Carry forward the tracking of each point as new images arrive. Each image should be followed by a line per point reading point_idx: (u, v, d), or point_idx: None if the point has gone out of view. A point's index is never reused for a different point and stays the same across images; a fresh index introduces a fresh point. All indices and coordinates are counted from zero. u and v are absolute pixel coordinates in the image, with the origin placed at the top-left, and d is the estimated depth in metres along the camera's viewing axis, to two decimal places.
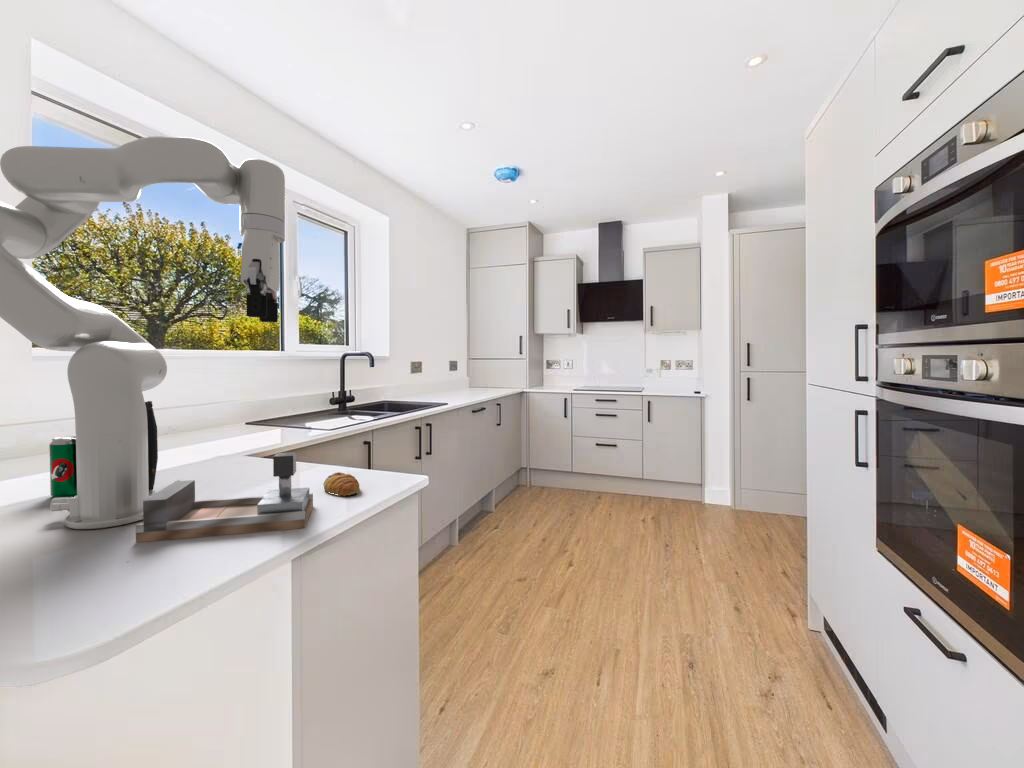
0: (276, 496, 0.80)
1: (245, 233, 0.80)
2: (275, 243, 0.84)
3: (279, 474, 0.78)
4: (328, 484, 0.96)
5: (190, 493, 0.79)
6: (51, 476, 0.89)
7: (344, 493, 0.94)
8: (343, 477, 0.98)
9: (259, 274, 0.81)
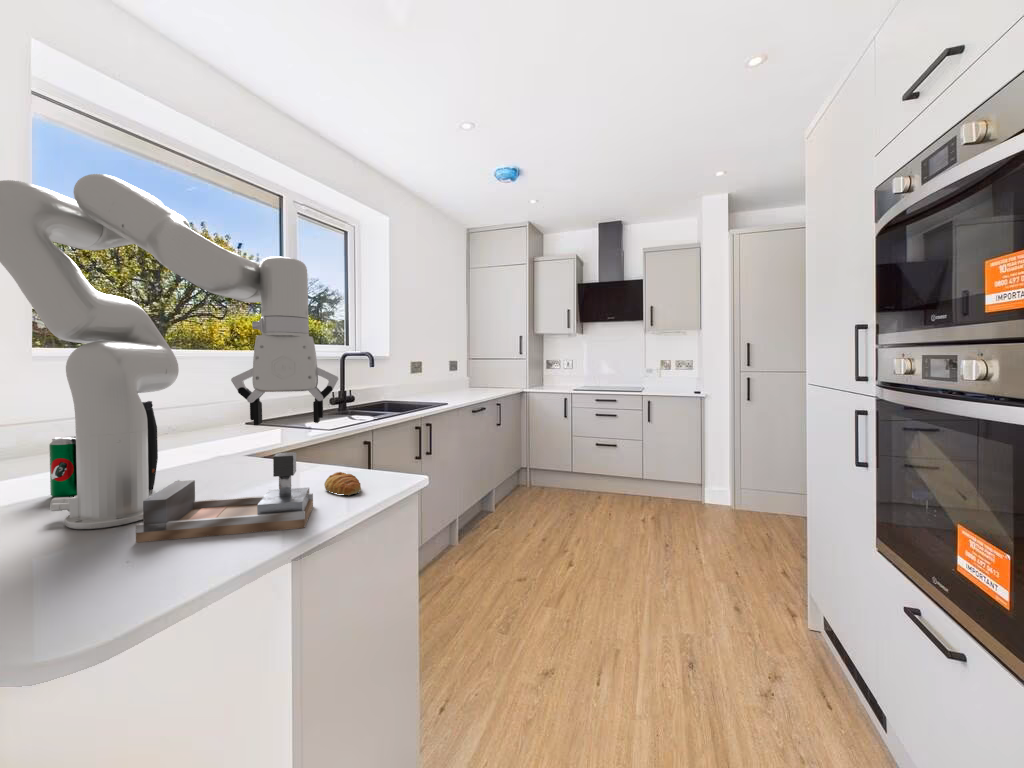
0: (276, 496, 0.80)
1: (310, 339, 0.79)
2: None
3: (279, 474, 0.78)
4: (329, 484, 0.97)
5: (190, 493, 0.79)
6: (51, 476, 0.89)
7: (345, 493, 0.94)
8: (344, 477, 0.98)
9: None
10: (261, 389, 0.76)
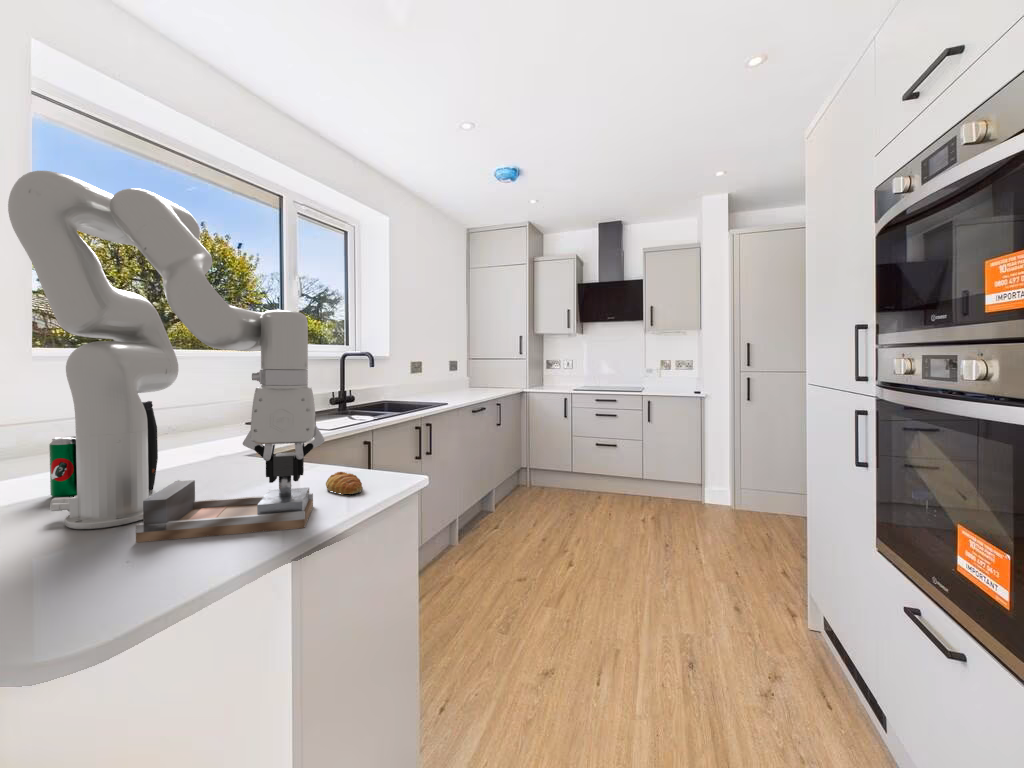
0: (276, 496, 0.80)
1: (309, 391, 0.79)
2: None
3: (279, 474, 0.78)
4: (330, 483, 0.97)
5: (190, 493, 0.79)
6: (51, 476, 0.89)
7: (347, 492, 0.95)
8: (346, 476, 0.98)
9: None
10: (259, 442, 0.76)
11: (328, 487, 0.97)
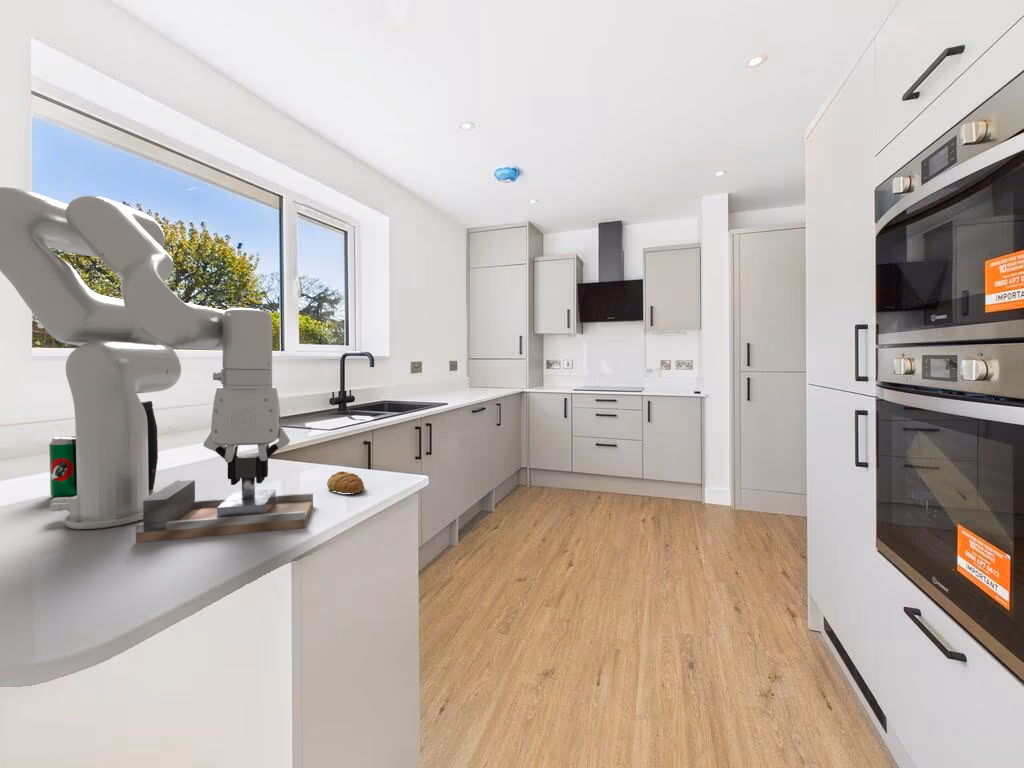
0: (239, 498, 0.78)
1: (272, 391, 0.77)
2: None
3: (242, 476, 0.77)
4: (332, 483, 0.97)
5: (190, 493, 0.79)
6: (51, 476, 0.89)
7: (349, 491, 0.95)
8: (347, 476, 0.99)
9: None
10: (220, 443, 0.74)
11: (330, 487, 0.97)
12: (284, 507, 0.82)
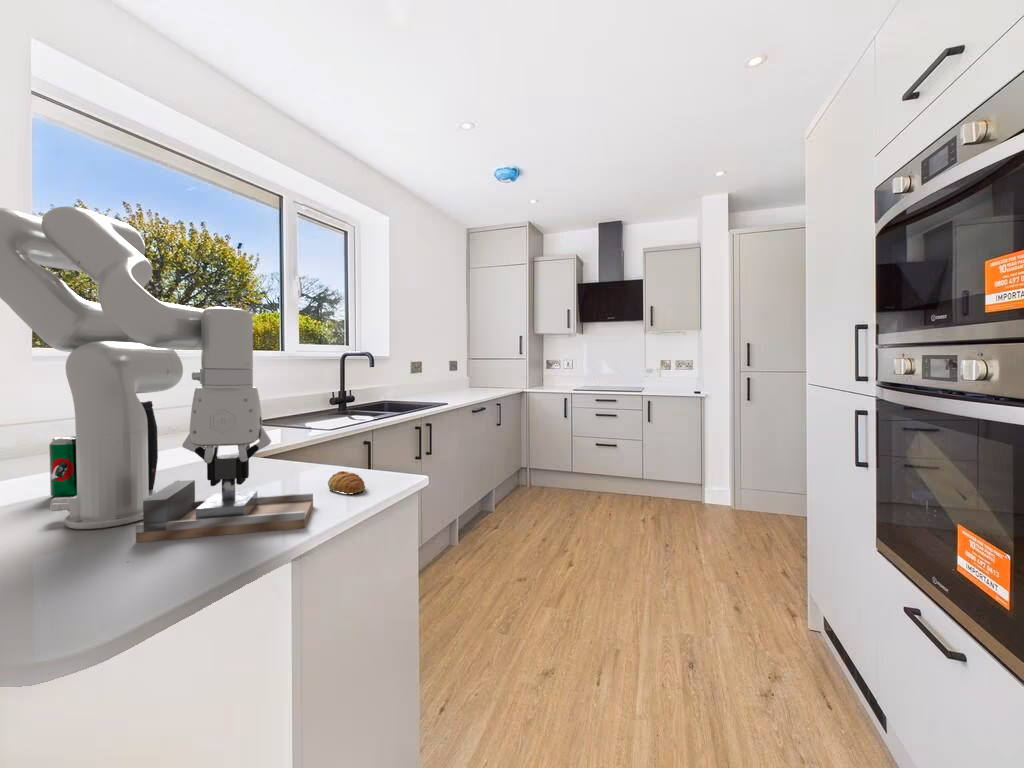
0: (219, 500, 0.77)
1: (252, 391, 0.76)
2: None
3: (221, 477, 0.76)
4: (333, 483, 0.97)
5: (190, 493, 0.79)
6: (51, 476, 0.89)
7: (350, 491, 0.95)
8: (348, 476, 0.99)
9: None
10: (198, 444, 0.73)
11: (330, 487, 0.98)
12: (284, 507, 0.82)
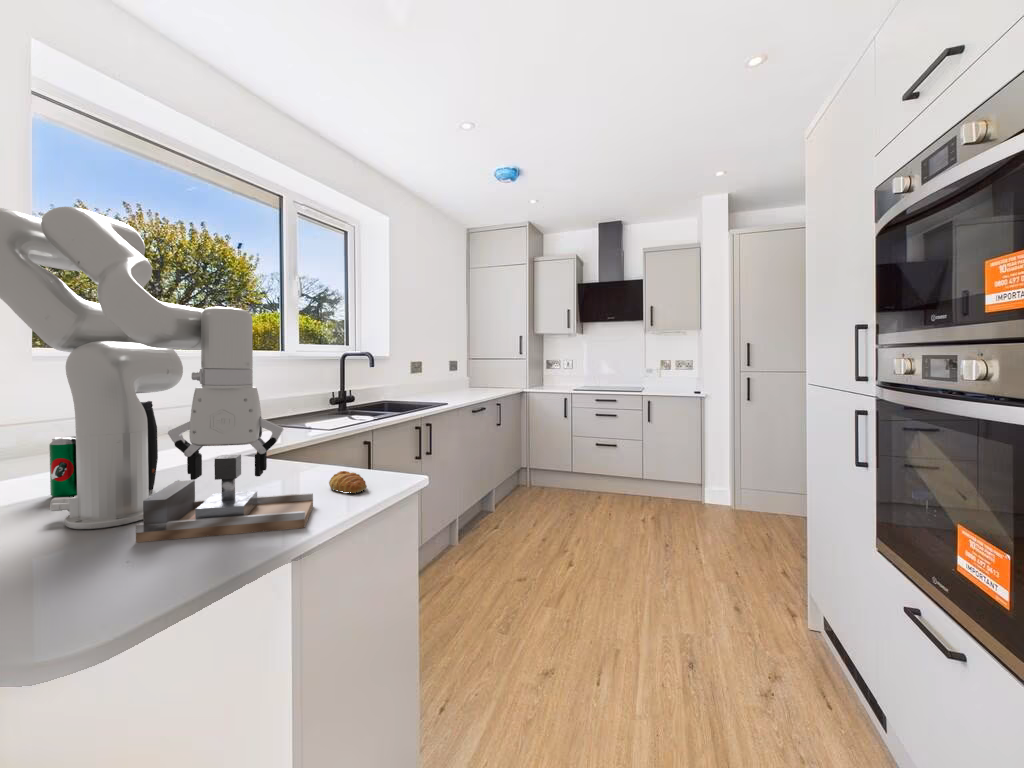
0: (219, 500, 0.77)
1: (252, 391, 0.76)
2: None
3: (221, 477, 0.76)
4: (334, 482, 0.98)
5: (190, 493, 0.79)
6: (51, 476, 0.89)
7: (352, 491, 0.96)
8: (349, 475, 0.99)
9: None
10: (198, 443, 0.73)
11: (332, 486, 0.98)
12: (284, 507, 0.82)
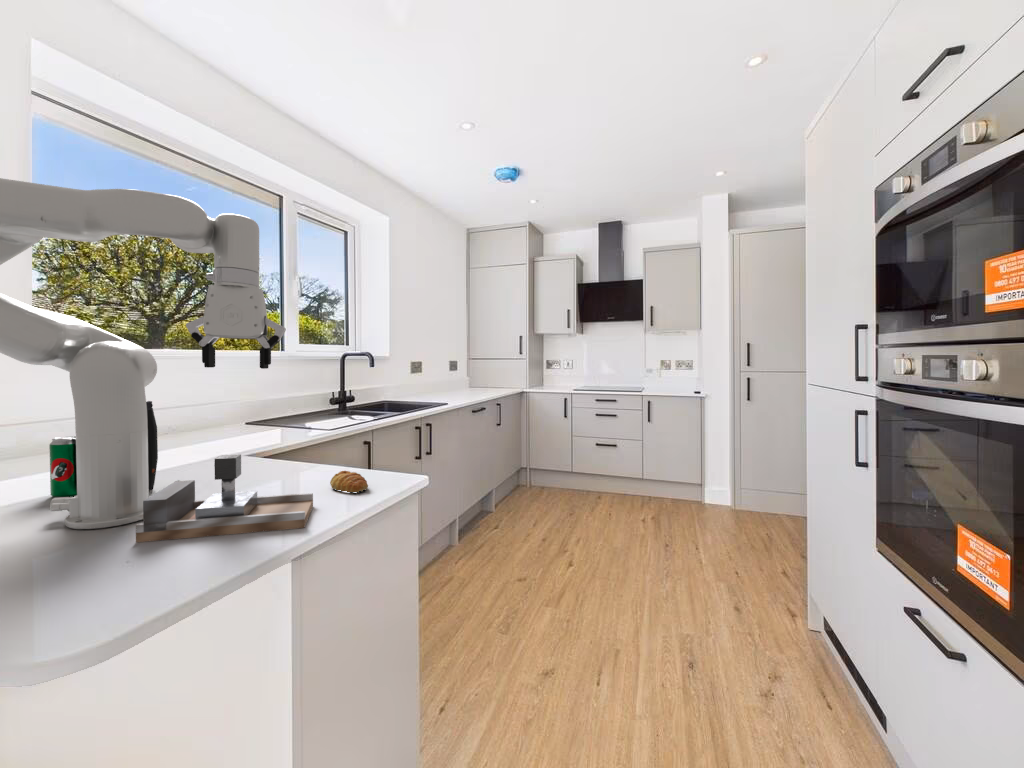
0: (219, 500, 0.77)
1: (257, 291, 0.86)
2: None
3: (221, 477, 0.76)
4: (336, 482, 0.98)
5: (190, 493, 0.79)
6: (51, 476, 0.89)
7: (354, 490, 0.96)
8: (351, 475, 0.99)
9: None
10: (211, 334, 0.83)
11: (333, 486, 0.98)
12: (284, 507, 0.82)
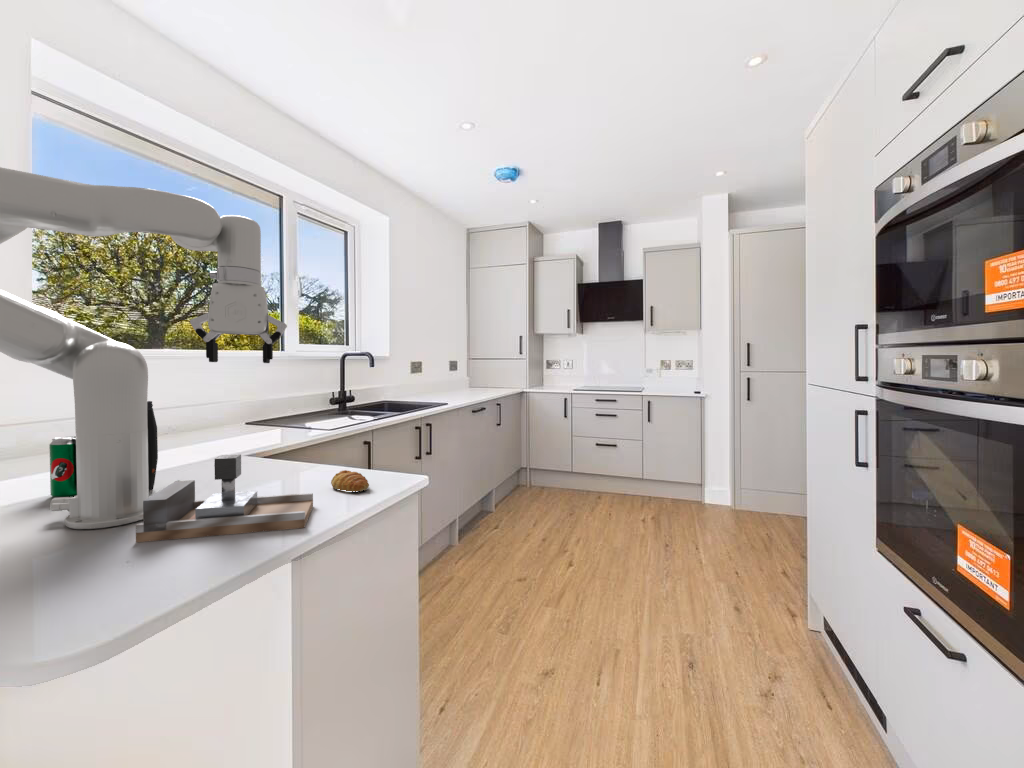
0: (219, 500, 0.77)
1: (260, 289, 0.90)
2: None
3: (221, 477, 0.76)
4: (337, 482, 0.98)
5: (190, 493, 0.79)
6: (51, 476, 0.89)
7: (355, 490, 0.96)
8: (351, 474, 1.00)
9: None
10: (215, 330, 0.87)
11: (334, 485, 0.98)
12: (284, 507, 0.82)
